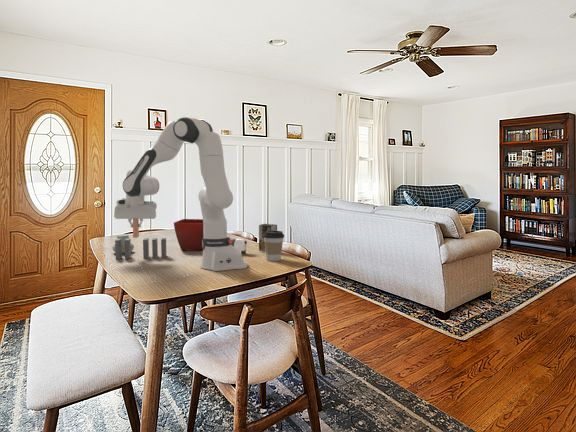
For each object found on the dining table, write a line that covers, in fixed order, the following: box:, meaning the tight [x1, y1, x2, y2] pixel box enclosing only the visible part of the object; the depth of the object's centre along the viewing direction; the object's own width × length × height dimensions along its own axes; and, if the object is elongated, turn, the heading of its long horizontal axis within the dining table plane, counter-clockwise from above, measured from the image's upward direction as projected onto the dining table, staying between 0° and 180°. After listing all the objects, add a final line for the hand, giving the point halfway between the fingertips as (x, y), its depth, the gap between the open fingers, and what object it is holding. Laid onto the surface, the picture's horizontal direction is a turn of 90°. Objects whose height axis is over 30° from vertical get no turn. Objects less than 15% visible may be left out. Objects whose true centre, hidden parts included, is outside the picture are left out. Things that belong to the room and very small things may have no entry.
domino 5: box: [151, 237, 159, 259], centre depth 192 cm, size 2×5×10 cm, turn 13°
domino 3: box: [132, 218, 140, 239], centre depth 188 cm, size 2×5×10 cm, turn 13°
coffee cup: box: [263, 230, 285, 262], centre depth 189 cm, size 11×11×15 cm
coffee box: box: [258, 223, 278, 253], centre depth 210 cm, size 9×6×16 cm
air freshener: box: [112, 234, 135, 255], centre depth 202 cm, size 11×8×10 cm
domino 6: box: [160, 237, 167, 259], centre depth 193 cm, size 2×5×10 cm, turn 13°
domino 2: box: [124, 238, 132, 260], centre depth 189 cm, size 2×5×10 cm, turn 13°
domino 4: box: [142, 237, 150, 260], centre depth 191 cm, size 2×5×10 cm, turn 13°
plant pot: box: [173, 218, 204, 251], centre depth 217 cm, size 19×19×17 cm
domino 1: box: [114, 238, 123, 260], centre depth 188 cm, size 2×5×10 cm, turn 13°
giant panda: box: [227, 236, 248, 256], centre depth 204 cm, size 15×6×10 cm, turn 82°
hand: (135, 227), depth 188 cm, fingers closed on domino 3, 2 cm apart
